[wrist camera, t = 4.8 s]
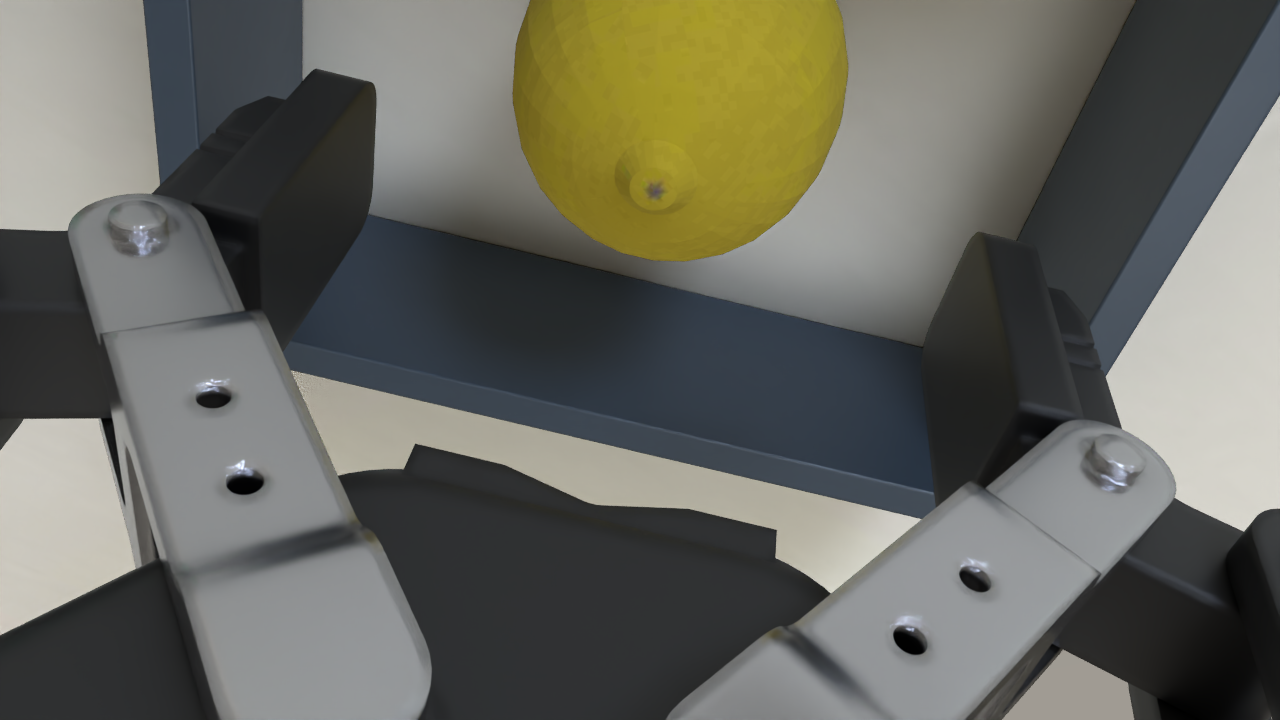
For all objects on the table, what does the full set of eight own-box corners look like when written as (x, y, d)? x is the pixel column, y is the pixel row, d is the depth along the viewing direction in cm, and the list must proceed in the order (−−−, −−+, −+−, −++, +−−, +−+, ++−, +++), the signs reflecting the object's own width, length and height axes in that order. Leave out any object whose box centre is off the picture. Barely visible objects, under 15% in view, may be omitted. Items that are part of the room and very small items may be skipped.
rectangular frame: (269, 218, 26) (173, 343, 22) (251, -650, 16) (76, -699, 12) (977, 388, 27) (1006, 539, 23) (1371, -361, 17) (1539, -321, 13)
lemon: (754, 164, 24) (731, 401, 17) (521, 45, 23) (408, 250, 16) (901, -67, 20) (938, 122, 14) (636, -220, 19) (549, -88, 13)
